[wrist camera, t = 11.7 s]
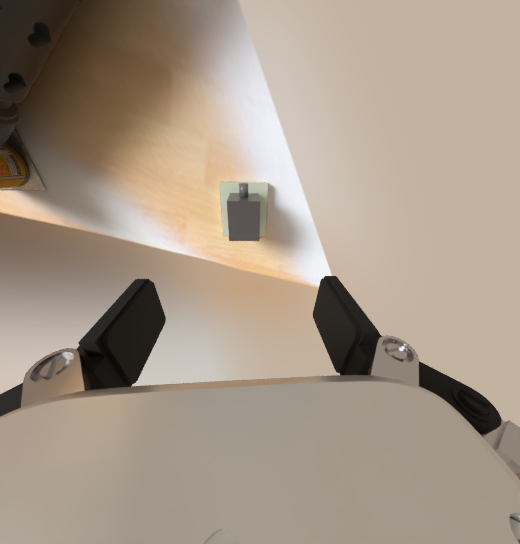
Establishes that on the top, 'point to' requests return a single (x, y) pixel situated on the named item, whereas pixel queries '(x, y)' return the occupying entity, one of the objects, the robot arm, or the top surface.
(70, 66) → the top surface
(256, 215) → the block
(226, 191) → the mat
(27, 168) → the condiment
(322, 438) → the robot arm
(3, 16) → the muzzle brake
